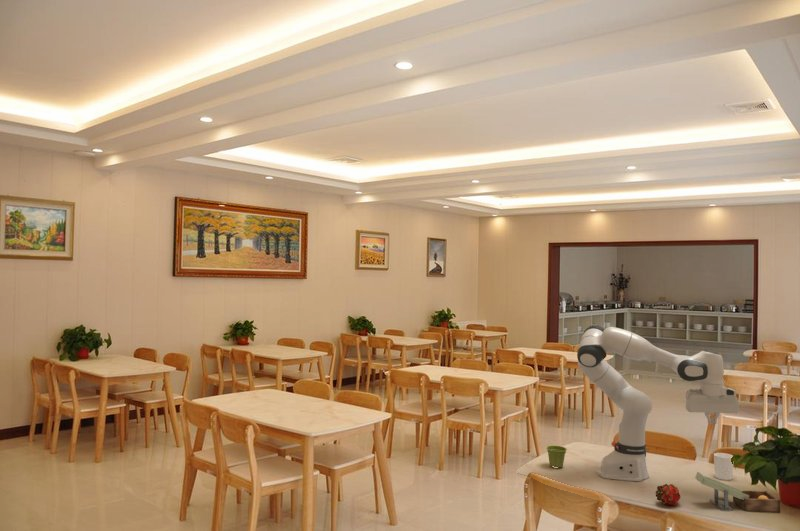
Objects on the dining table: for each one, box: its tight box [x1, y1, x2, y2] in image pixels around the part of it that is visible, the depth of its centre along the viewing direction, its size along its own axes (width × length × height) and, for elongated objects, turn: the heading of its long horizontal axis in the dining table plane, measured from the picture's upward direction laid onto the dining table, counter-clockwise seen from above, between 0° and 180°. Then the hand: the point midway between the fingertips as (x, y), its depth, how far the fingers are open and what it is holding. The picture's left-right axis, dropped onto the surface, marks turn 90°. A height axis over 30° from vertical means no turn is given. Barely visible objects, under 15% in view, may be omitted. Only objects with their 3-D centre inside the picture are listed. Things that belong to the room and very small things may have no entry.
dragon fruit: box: [655, 483, 682, 507], centre depth 241 cm, size 8×8×12 cm
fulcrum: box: [709, 488, 734, 512], centre depth 240 cm, size 4×10×7 cm, turn 175°
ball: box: [758, 495, 768, 499], centre depth 238 cm, size 4×4×4 cm
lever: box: [694, 471, 749, 500], centre depth 243 cm, size 18×13×3 cm
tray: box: [732, 489, 781, 513], centre depth 238 cm, size 13×10×4 cm
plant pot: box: [546, 445, 568, 467], centre depth 288 cm, size 9×9×9 cm
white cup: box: [713, 452, 734, 481], centre depth 273 cm, size 8×8×10 cm
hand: (712, 423), depth 253 cm, fingers closed
